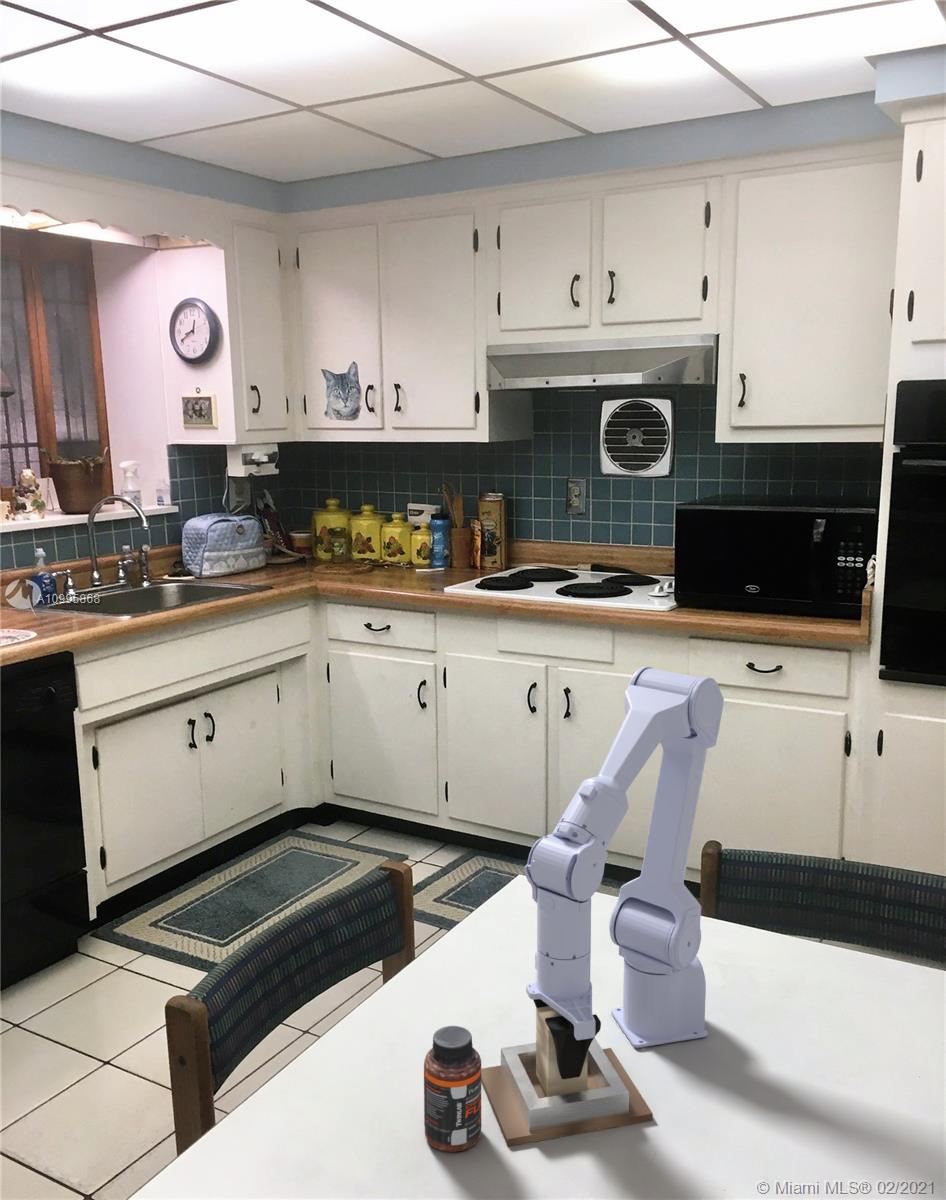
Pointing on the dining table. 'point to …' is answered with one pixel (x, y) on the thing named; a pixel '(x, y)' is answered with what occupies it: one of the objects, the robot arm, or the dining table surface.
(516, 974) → the dining table surface
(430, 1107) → the supplement bottle
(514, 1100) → the collar board
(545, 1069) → the peg
